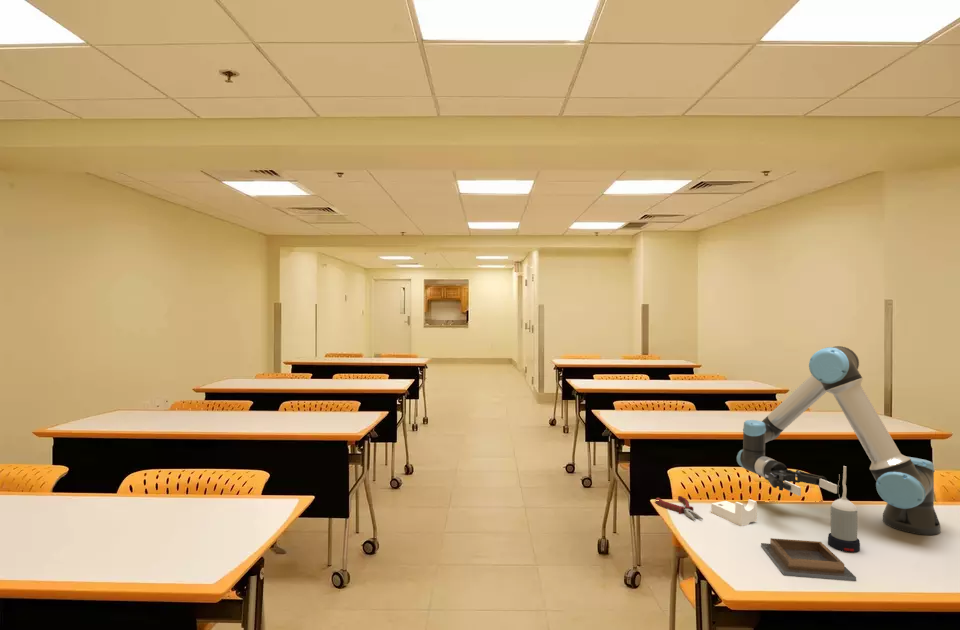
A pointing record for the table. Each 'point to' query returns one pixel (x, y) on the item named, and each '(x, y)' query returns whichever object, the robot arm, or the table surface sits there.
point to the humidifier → (844, 523)
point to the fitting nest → (806, 559)
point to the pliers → (680, 507)
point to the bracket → (736, 511)
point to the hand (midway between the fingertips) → (818, 490)
